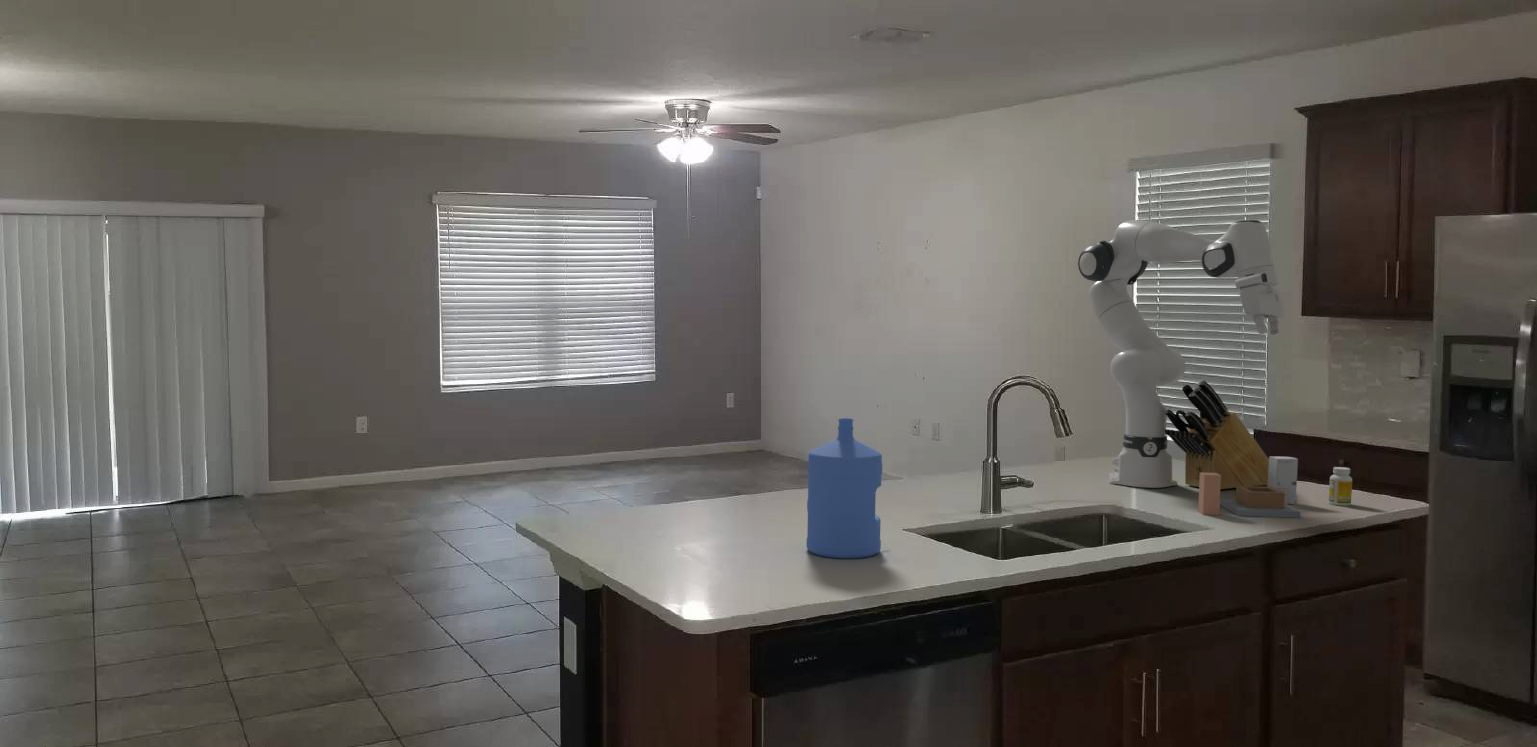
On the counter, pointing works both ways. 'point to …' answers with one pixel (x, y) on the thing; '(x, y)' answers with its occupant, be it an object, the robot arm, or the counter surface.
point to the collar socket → (1259, 503)
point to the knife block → (1217, 442)
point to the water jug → (843, 497)
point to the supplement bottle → (1340, 487)
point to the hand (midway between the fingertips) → (1269, 334)
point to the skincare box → (1283, 476)
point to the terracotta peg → (1209, 493)
